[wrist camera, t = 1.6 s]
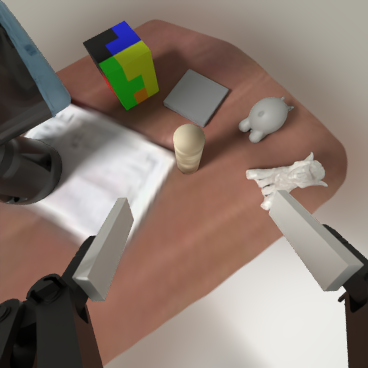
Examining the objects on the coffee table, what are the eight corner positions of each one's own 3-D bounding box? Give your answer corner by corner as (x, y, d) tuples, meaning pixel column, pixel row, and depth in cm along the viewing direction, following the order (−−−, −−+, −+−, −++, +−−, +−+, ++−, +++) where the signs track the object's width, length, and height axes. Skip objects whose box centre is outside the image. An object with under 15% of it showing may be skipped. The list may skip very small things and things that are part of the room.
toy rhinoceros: (277, 134, 40) (311, 107, 32) (251, 148, 34) (285, 120, 27) (259, 114, 41) (288, 83, 33) (232, 124, 35) (259, 91, 28)
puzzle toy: (138, 66, 42) (124, 20, 32) (159, 91, 40) (150, 50, 30) (107, 84, 40) (82, 42, 31) (126, 110, 39) (107, 75, 29)
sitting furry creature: (242, 172, 35) (271, 150, 23) (275, 159, 35) (320, 130, 24) (262, 211, 33) (304, 208, 21) (296, 196, 33) (356, 185, 22)
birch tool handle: (173, 167, 35) (167, 142, 24) (185, 150, 36) (184, 118, 24) (191, 178, 35) (194, 158, 23) (202, 161, 35) (211, 133, 24)
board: (163, 105, 39) (163, 101, 38) (189, 72, 41) (189, 68, 40) (203, 127, 37) (204, 124, 36) (227, 93, 39) (228, 89, 38)
